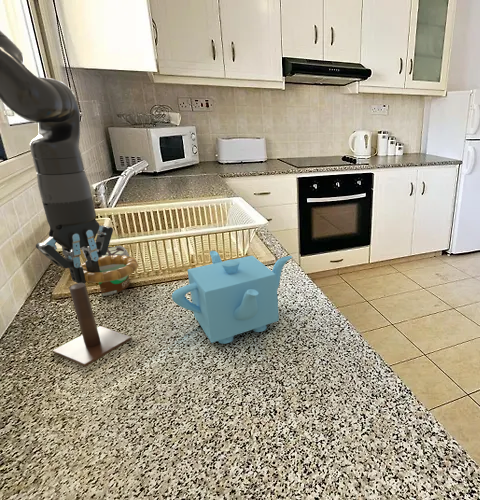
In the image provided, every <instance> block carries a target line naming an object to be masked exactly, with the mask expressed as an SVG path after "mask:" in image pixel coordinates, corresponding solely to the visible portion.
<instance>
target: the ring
mask: <svg viewBox="0 0 480 500" xmlns="http://www.w3.org/2000/svg"><path fill="white" fill-rule="evenodd" d="M129 256H130V255H129ZM129 256H125V255H111V256H105V257H100V258H99V259H98V264H99V267H101V266H107V265H112V264H123V265H126V266H125V267H122V268H119V269H117V270H113V271H107V272H89V271H87V267H86V263H85V262H83V263H81V265H80V266H82V267H83V271H84V275H85V280H86V283H90V284H91V283H99V282H108V281H113V280H118V279H121V278H123V277H126V276H128V275H129V276H130V275H132V274H133V273H135V271H136V270H138V269H139V263H138V261H137V259H136V258H135V257H133V256H130V257H129Z"/></svg>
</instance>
